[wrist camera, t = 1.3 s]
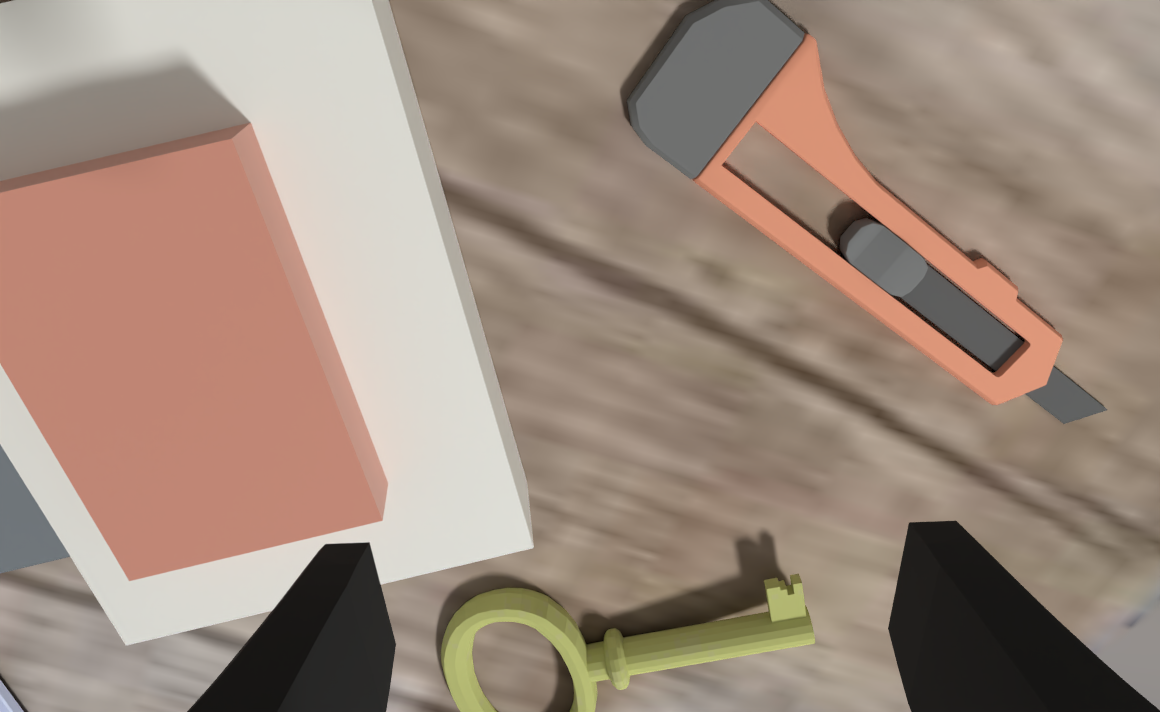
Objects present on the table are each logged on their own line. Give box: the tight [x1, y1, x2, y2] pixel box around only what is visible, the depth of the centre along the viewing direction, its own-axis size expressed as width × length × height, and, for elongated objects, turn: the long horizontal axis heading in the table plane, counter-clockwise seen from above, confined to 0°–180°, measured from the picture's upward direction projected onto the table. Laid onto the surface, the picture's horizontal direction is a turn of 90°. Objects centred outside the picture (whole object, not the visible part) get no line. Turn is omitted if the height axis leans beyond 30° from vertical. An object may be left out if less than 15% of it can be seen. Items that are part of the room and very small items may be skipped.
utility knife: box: [627, 0, 1107, 424], centre depth 23 cm, size 4×1×18 cm
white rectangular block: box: [0, 0, 534, 645], centre depth 20 cm, size 11×15×3 cm
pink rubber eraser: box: [0, 123, 388, 581], centre depth 18 cm, size 6×9×2 cm, turn 12°
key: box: [441, 574, 815, 712], centre depth 27 cm, size 7×12×2 cm, turn 121°
